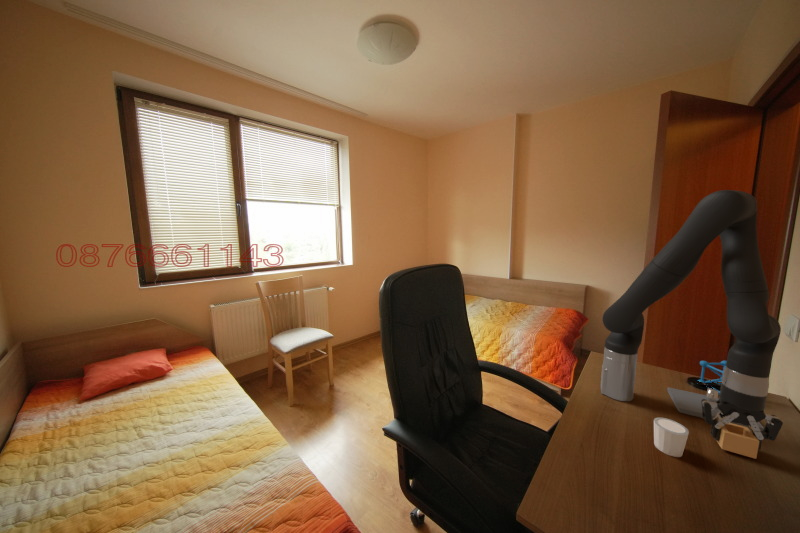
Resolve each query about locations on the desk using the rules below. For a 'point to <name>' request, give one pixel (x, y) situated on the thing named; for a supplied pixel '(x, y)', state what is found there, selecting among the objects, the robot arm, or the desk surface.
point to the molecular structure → (706, 364)
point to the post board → (694, 404)
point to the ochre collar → (738, 440)
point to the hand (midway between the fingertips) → (733, 443)
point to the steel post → (712, 395)
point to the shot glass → (670, 436)
